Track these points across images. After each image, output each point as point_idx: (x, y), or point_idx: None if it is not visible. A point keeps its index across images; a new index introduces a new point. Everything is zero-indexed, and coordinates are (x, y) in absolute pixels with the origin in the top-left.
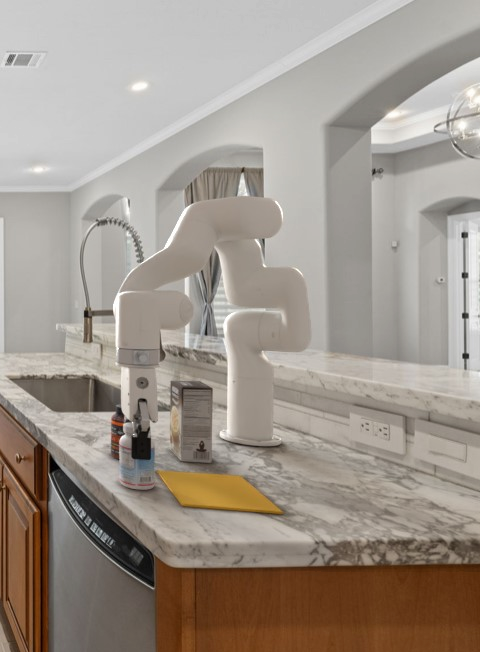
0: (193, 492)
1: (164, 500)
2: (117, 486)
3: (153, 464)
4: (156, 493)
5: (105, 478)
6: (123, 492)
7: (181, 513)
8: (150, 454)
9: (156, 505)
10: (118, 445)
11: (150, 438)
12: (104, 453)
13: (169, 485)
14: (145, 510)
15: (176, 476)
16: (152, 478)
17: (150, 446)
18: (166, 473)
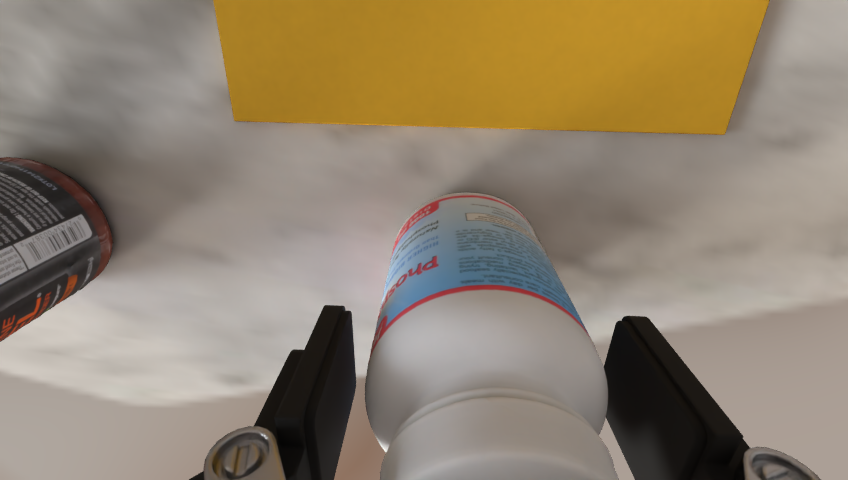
0: (572, 22)
1: (642, 186)
2: None
3: (530, 249)
4: (557, 198)
5: None
6: None
7: (795, 157)
8: (660, 337)
9: (697, 231)
10: (54, 298)
11: (739, 435)
12: None
13: (474, 121)
14: (744, 280)
15: (314, 39)
16: (526, 225)
17: (691, 378)
18: (276, 83)
